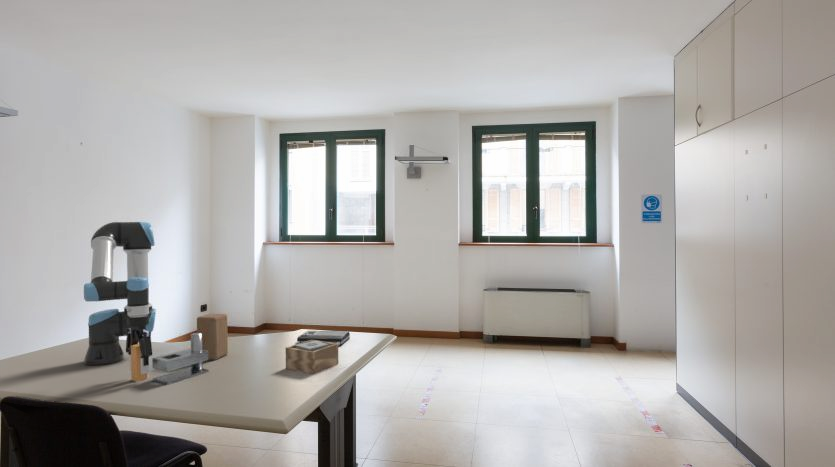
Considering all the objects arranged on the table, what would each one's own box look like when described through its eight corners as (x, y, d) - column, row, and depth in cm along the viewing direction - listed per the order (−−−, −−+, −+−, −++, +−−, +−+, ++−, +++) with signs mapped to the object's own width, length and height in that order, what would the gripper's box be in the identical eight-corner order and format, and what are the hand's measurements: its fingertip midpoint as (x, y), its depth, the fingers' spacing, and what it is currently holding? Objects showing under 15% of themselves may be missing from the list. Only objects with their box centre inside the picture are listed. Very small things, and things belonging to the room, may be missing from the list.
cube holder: (285, 368, 197) (285, 347, 197) (311, 358, 211) (311, 339, 210) (313, 373, 189) (313, 352, 189) (338, 363, 203) (338, 343, 202)
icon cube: (295, 367, 197) (295, 345, 197) (314, 362, 205) (314, 340, 205) (309, 372, 191) (309, 348, 191) (328, 366, 199) (328, 344, 199)
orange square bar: (131, 380, 183) (130, 345, 183) (141, 377, 187) (141, 343, 186) (136, 381, 181) (136, 346, 181) (147, 378, 185) (146, 344, 184)
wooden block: (215, 360, 209) (214, 317, 209) (196, 359, 211) (195, 317, 211) (228, 354, 219) (228, 313, 219) (210, 353, 221) (209, 313, 221)
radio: (349, 329, 249) (338, 338, 229) (349, 339, 249) (339, 348, 229) (307, 329, 252) (292, 337, 232) (307, 338, 252) (293, 347, 232)
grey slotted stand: (152, 380, 183) (152, 340, 182) (194, 368, 198) (193, 331, 198) (167, 384, 178) (166, 343, 177) (208, 371, 193) (208, 334, 193)
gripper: (114, 315, 185) (115, 370, 186) (142, 319, 175) (143, 378, 175) (133, 312, 192) (134, 365, 192) (162, 316, 182) (162, 372, 182)
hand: (139, 371), depth 184 cm, fingers open, 8 cm apart
